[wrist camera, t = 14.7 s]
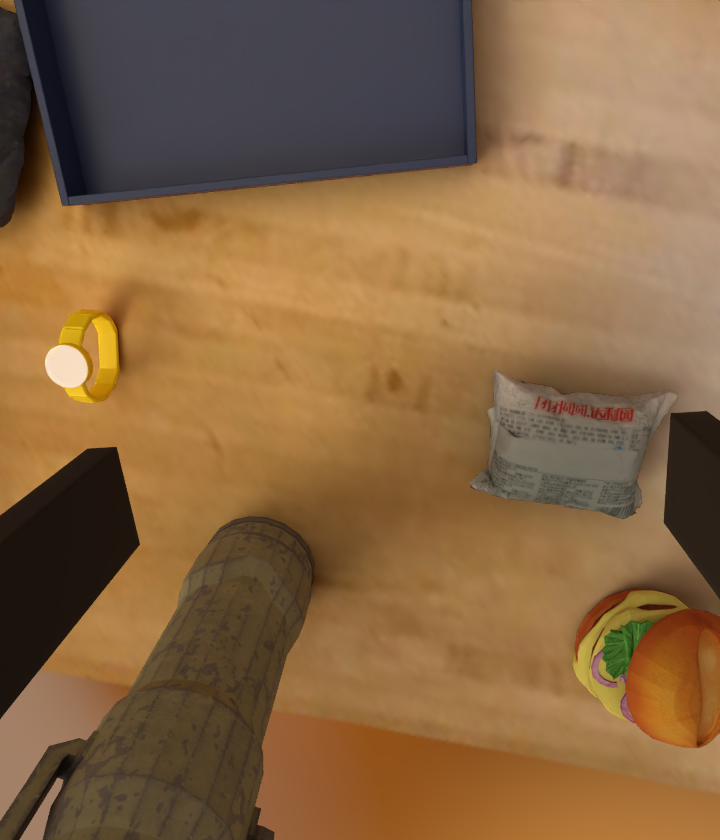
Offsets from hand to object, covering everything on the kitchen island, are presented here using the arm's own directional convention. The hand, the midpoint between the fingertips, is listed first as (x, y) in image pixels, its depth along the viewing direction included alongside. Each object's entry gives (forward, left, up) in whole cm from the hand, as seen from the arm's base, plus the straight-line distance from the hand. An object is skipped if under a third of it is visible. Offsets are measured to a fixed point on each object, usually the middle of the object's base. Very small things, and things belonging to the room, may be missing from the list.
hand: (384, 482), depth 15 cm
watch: (+21, +2, -29) cm, 35 cm away
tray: (+8, -17, -28) cm, 34 cm away
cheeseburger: (-16, +27, -29) cm, 42 cm away
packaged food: (-10, +10, -29) cm, 32 cm away
